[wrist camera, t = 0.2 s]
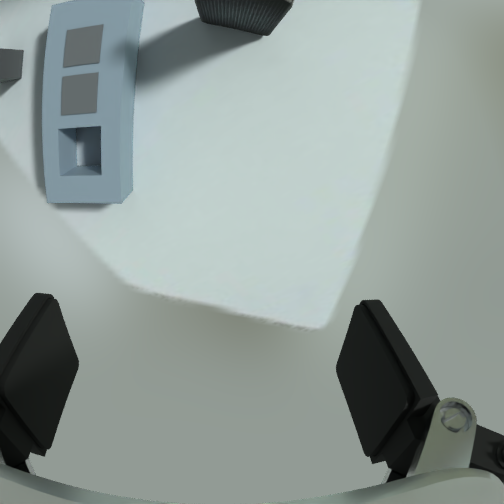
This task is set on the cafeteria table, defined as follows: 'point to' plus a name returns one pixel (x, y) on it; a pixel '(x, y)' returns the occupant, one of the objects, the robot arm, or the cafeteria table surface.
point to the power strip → (90, 97)
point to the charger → (10, 64)
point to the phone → (244, 14)
